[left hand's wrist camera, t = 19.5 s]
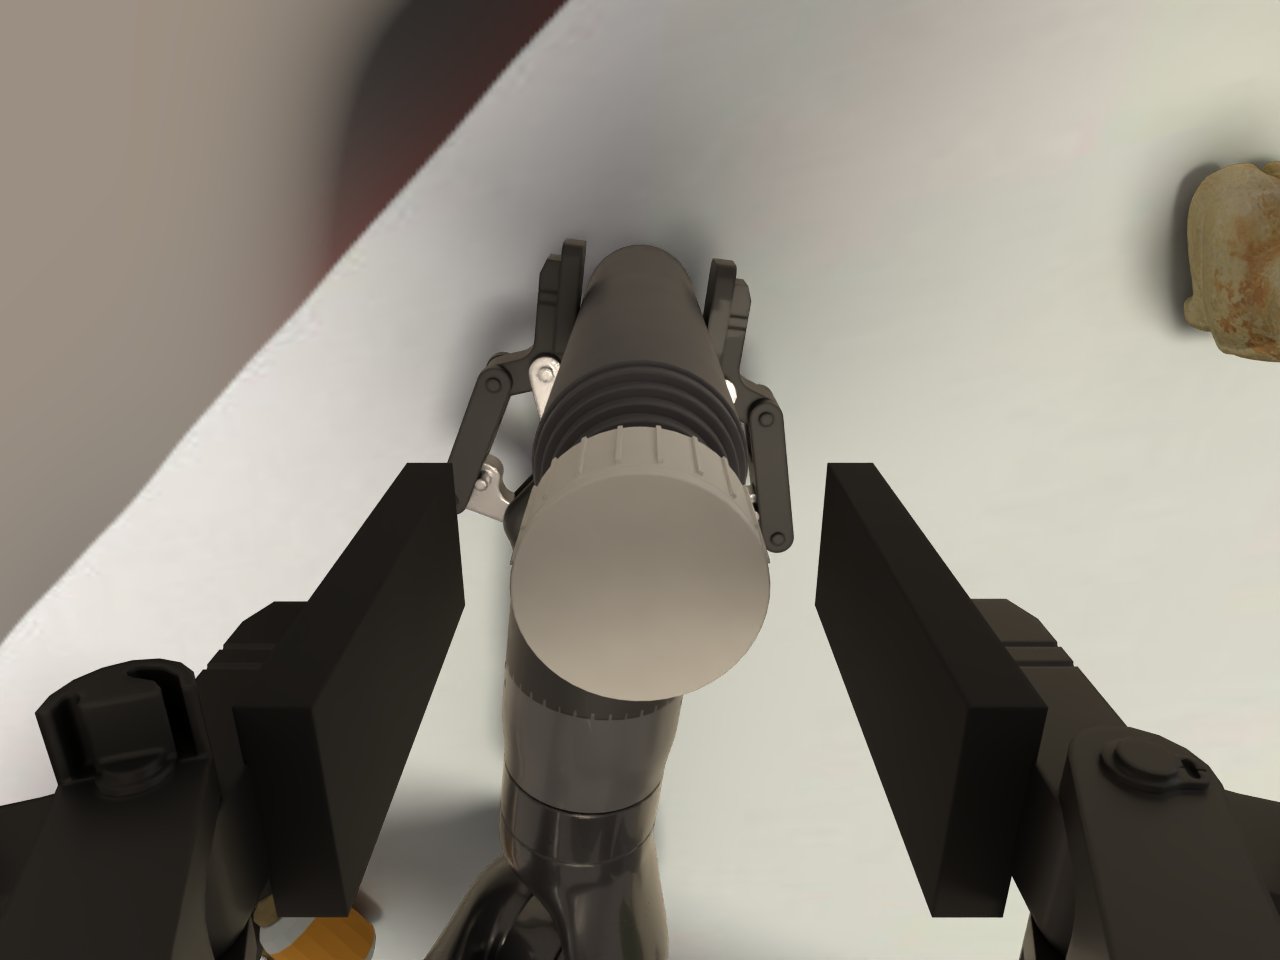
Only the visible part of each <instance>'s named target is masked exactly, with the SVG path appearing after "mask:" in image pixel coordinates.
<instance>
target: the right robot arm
mask: <svg viewBox="0 0 1280 960" xmlns="http://www.w3.org/2000/svg"><path fill="white" fill-rule="evenodd" d="M585 253H586V241H582V240H574V239H566V240H565V241H564V243H563V248H562V255H555V254H551V255H550V256H549V257H548V259H547V260H546V262H545V264H544V266H543V268H542V270H541V272H540V278H539V292H538V304H537V315H536V328H535V340H534V345H533V346H532V347H530V348H529V349H527V350H524V351H519V352H515V353H511V354H510V353H507V352H499V353H497V354H495V355H493V356H492V357H491V359H490V360H489V362H488V364H487V366H486V368H485V369H484V370H483V371H482V372H481V373H480V375H479V377H478V379H477V382H476V384H475V387H474V390H473V393H472V395H471V398H470V401H469V404H468V407H467V409H466V412H465V415H464V418H463V420H462V423H461V426H460V429H459V432H458V434H457V437H456V440H455V443H454V445H453V448H452V451H451V454H450V457H449V459H448V462H447V463H452V464H453V475H454V486H455V497H456V509H457V514H460V513H461V512H463V511H464V510H465V509H469V510H472V511H474V512H477V513H480V514H482V515H485V516H488V517H490V518H493V519H496V520H498V521H501V522H503V525H504V530H505V533H506V535H507V537H508V539H509V540H510V543H511V545H512V548H513V551H514V548H515V544H516V541H517V538H518V535H519V531H520V527H521V523H522V520H523V517H524V514H525V510H526V507H527V504H528V501H529V497H530V494H531V491H532V488H533V486H534V485H535V483H534V477H533V474H532V475H531V476H530V477H529V478H528V479H527V480H526V481H525V482H524V483H523V484H522V485H521V486H520V487H519V488H518V489H517V490H516V491H515V492H514V493H513V492H511V491H509V490H508V489H507V488H506V487H505V485H504V483H503V472H504V468H503V464H502V463H501V461H500V460H499V459H498V458H497V457H495V456H493V455H490V454H489V452H490V450H491V447H492V444H493V442H494V439H495V436H496V434H497V431H498V429H499V426H500V423H501V421H502V418H503V415H504V413H505V410H506V407H507V405H508V402H509V399H510V397H511V396H512V395H516V394H521V393H525V392H530V391H533V394H534V398H535V402H536V406H537V410H538V414H539V418H540V420H541V418H542V415H543V412H544V409H545V406H546V403H547V401H548V398H549V395H550V392H551V389H552V386H553V384H554V381H555V378H556V375H557V372H558V369H559V367H560V364H561V361H562V358H563V355H564V352H565V350H566V347H567V344H568V341H569V338H570V335H571V333H572V330H573V327H574V324H575V321H576V318H577V316H578V313H579V310H580V303H581V293H582V283H583V273H584V263H585ZM736 271H737V267H736V265H735V263H734V262H733V261H730V260H723V259H715V258H713V259H712V263H711V268H710V274H709V281H708V287H707V294H706V300H705V306H704V313H703V319H704V321H705V324H706V327H707V330H708V333H709V335H710V338H711V341H712V344H713V347H714V350H715V352H716V355H717V358H718V361H719V364H720V366H721V369H722V372H723V375H724V378H725V381H726V383H727V386H728V389H729V392H730V395H731V398H732V400H733V403H734V406H735V409H736V412H737V414H738V417H739V420H740V421H741V422H743V423H744V426H745V436H746V443H747V451H748V464H749V473H750V483H751V485H749V486H747V488H748V491H749V494H750V498H751V501H752V504H753V507H754V511H755V514H756V517H757V520H758V523H759V527H760V530H761V533H762V536H763V540H764V543H765V546H766V549H767V550H768V551H770V552H774V553H780V552H783V551H786V550H787V549H788V548H790V546H791V545H792V543H793V540H794V534H793V523H792V511H791V500H790V489H789V477H788V466H787V455H786V443H785V432H784V421H783V414H782V411H781V409H780V407H779V405H778V403H777V401H776V400H775V398H774V396H773V394H772V392H771V390H770V389H769V388H768V387H766V386H764V385H759V384H758V385H757V384H755V383H753V382H751V381H749V380H747V379H745V378H744V377H742V376H741V375H740V373H739V368H740V362H741V356H742V350H743V345H744V339H745V333H746V328H747V322H748V316H749V311H750V305H751V298H750V293H749V288H748V285H747V284H746V282H745V281H744V280H743V279H736ZM682 698H683V695H680V696H676V697H672V698H668V699H661V700H653V701H629V700H618V699H613V698H608V697H604V696H600V695H597V694H594V693H591V692H588V691H586V690H583V689H581V688H579V687H577V686H575V685H573V684H571V683H569V682H568V681H566V680H564V679H563V678H561V677H560V676H558V675H557V674H556V673H554V672H553V671H552V670H551V669H549V668H548V667H547V666H546V665H545V664H544V663H543V662H542V661H541V660H540V659H539V658H538V657H537V656H536V654H535V653H534V652H533V650H532V649H531V648H530V647H529V645H528V644H527V642H526V640H525V638H524V637H523V635H522V633H521V631H520V629H519V627H518V624H517V622H516V619H515V616H514V612H513V608H512V604H510V617H509V629H508V641H507V654H506V663H505V680H504V692H503V710H502V712H503V731H504V741H505V753H504V764H503V776H502V788H501V802H500V818H499V834H500V841H501V845H502V850H503V854H504V855H502V856H500V857H498V858H497V859H495V860H494V861H493V862H491V863H490V864H489V865H488V866H487V867H486V868H485V869H484V870H483V871H482V872H481V873H480V875H479V876H478V877H477V879H476V880H475V881H474V883H473V884H472V886H471V887H470V889H469V890H468V892H467V893H466V895H465V897H464V898H463V900H462V901H461V903H460V905H459V906H458V908H457V910H456V911H455V913H454V915H453V916H452V918H451V919H450V921H449V923H448V924H447V926H446V927H445V929H444V930H443V932H442V934H441V935H440V937H439V938H438V940H437V941H436V942H435V944H434V945H433V947H432V948H431V950H430V951H429V952H428V954H427V955H426V957H425V958H424V960H668V952H669V941H668V929H667V919H666V912H665V906H664V900H663V894H662V888H661V882H660V876H659V869H658V860H657V854H656V849H655V845H654V839H653V830H654V824H655V818H656V814H657V808H658V802H659V796H660V790H661V785H662V779H663V772H664V768H665V764H666V761H667V758H668V755H669V752H670V749H671V747H672V744H673V741H674V738H675V734H676V730H677V725H678V720H679V714H680V709H681V703H682Z"/></svg>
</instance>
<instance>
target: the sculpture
mask: <svg viewBox="0 0 1280 960" xmlns="http://www.w3.org/2000/svg"><path fill="white" fill-rule="evenodd" d="M1187 241H1188V255H1189V264H1190V271H1191V277H1192V286H1193V296H1191V297H1188V298H1187V299H1186V300H1185V303H1184V315H1185V318H1186V320H1187V322H1188V323H1189V324H1190V325H1192V326H1193V327H1195V328H1198V329H1200V330H1203V331H1207V332H1212V334H1213V337H1214V340H1215V342H1216V345H1217V346H1218V348H1219V350H1221V351H1222V352H1223V353H1225V354H1233V355H1236V356H1239V357H1242V358H1247V359H1252V360H1260V361H1268V362H1280V161H1279V162H1270V163H1267V164H1266V165H1265V166H1264V167H1263V168H1262V169H1261V171H1260V170H1259V169H1258V168H1257V167H1256V166H1254V165H1253V164H1251V163H1241V164H1234V165H1230V166H1227V167H1225V168H1222V169H1220V170H1218V171H1216V172H1214V173H1212V174H1210V175H1209V176H1208V177H1206V178H1205V179H1204V180H1203V181H1202V183H1201V184H1200V186H1199V187H1198V189H1197V190H1196V192H1195V194H1194V196H1193V198H1192V201H1191V204H1190V207H1189V213H1188V222H1187Z"/></svg>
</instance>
